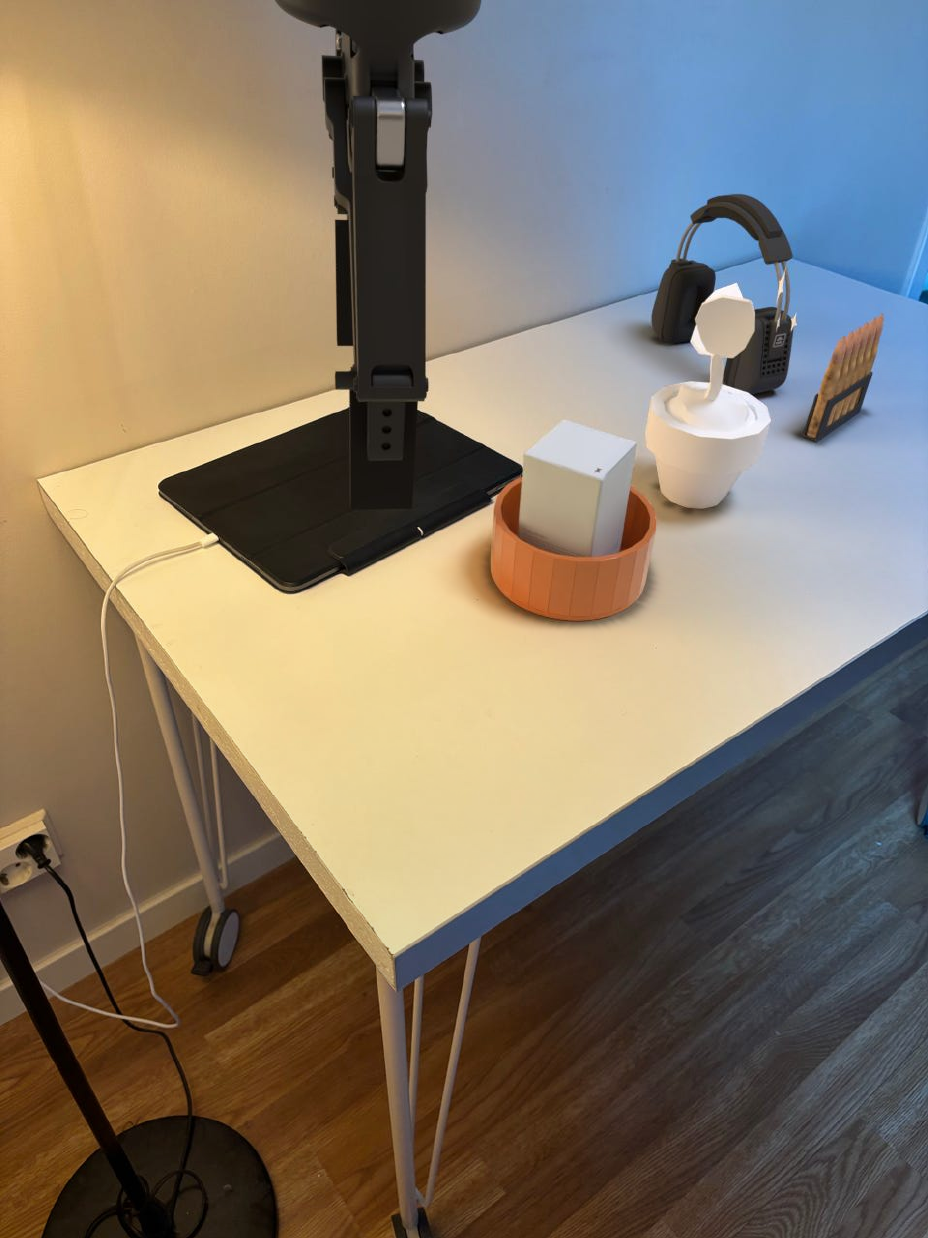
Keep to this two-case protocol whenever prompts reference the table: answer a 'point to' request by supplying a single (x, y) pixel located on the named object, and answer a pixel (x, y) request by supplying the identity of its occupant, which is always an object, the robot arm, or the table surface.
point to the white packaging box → (576, 491)
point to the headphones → (695, 283)
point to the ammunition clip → (844, 381)
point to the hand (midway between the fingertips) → (370, 415)
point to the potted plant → (709, 411)
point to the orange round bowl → (570, 565)
